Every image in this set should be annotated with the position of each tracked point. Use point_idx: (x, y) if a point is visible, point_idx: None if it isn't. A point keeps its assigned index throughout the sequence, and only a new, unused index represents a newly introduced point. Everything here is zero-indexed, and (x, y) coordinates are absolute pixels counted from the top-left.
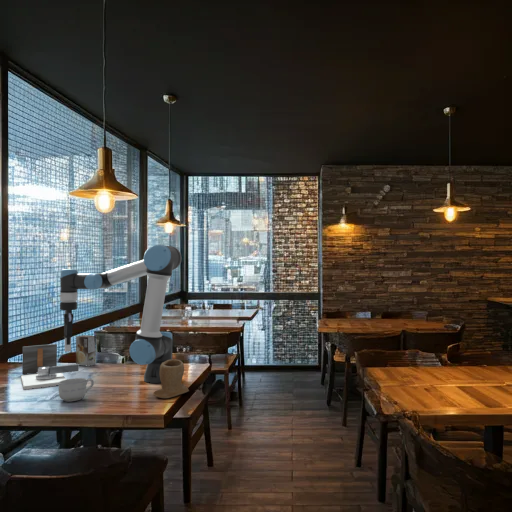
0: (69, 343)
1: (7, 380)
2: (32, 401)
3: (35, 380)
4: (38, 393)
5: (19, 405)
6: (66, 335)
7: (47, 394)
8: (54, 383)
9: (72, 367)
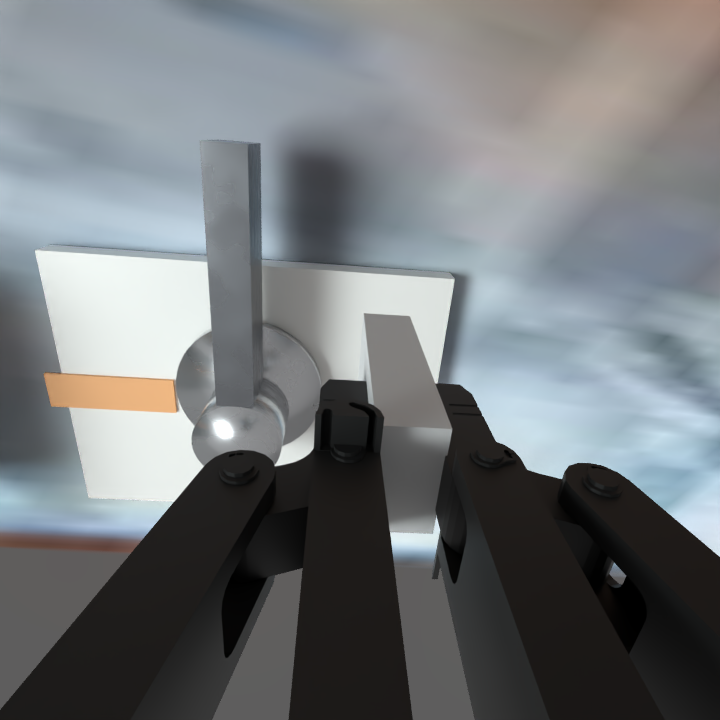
0: (471, 404)
1: (118, 541)
2: (694, 489)
3: (294, 447)
4: (555, 449)
5: (712, 536)
6: (605, 592)
7: (617, 415)
8: (440, 359)
9: (254, 208)
